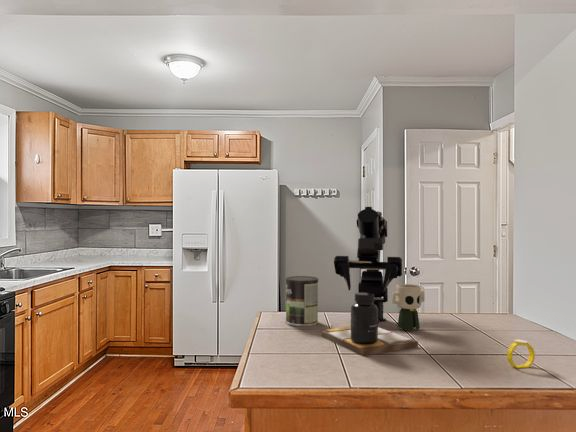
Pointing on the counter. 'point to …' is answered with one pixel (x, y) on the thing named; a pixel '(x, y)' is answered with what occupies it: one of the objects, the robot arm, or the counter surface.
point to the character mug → (408, 305)
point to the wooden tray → (384, 344)
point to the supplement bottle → (364, 319)
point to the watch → (511, 349)
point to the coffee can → (302, 300)
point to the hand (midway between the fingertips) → (366, 290)
